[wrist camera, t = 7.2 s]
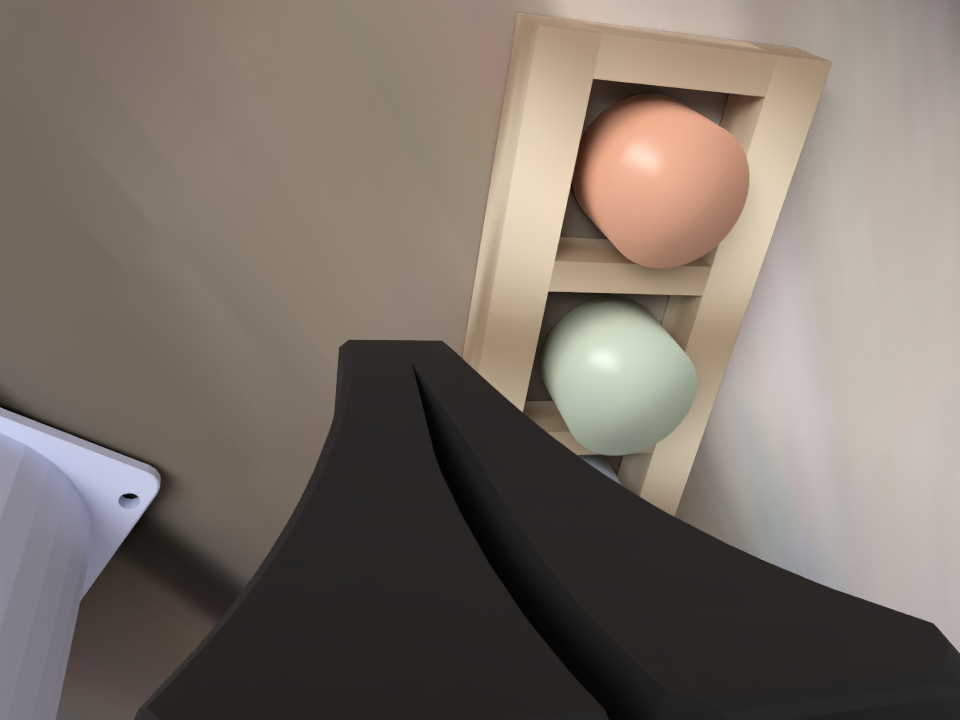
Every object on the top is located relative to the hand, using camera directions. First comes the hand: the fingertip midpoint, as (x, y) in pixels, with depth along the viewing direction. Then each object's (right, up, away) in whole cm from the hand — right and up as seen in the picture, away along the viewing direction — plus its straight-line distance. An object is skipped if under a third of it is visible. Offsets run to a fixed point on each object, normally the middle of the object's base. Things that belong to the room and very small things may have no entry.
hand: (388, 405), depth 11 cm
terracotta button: (+5, +6, +10) cm, 12 cm away
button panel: (+4, +1, +12) cm, 13 cm away
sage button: (+4, +1, +12) cm, 13 cm away
